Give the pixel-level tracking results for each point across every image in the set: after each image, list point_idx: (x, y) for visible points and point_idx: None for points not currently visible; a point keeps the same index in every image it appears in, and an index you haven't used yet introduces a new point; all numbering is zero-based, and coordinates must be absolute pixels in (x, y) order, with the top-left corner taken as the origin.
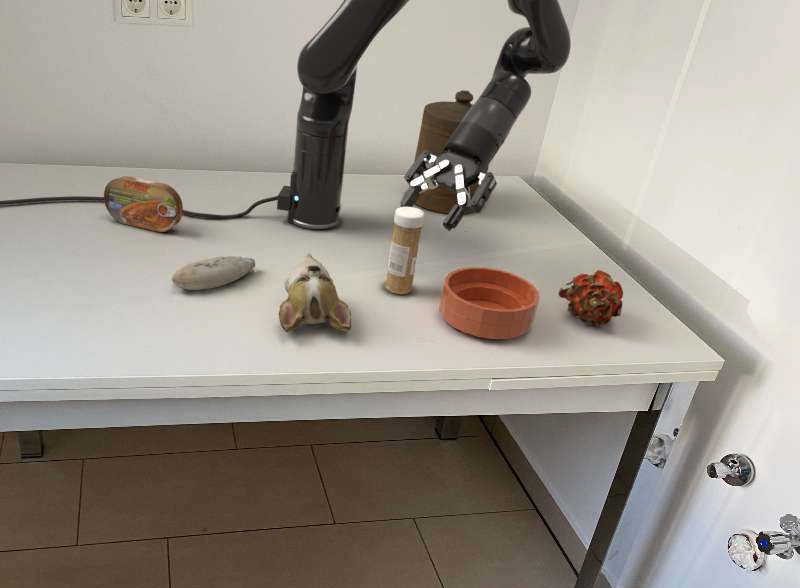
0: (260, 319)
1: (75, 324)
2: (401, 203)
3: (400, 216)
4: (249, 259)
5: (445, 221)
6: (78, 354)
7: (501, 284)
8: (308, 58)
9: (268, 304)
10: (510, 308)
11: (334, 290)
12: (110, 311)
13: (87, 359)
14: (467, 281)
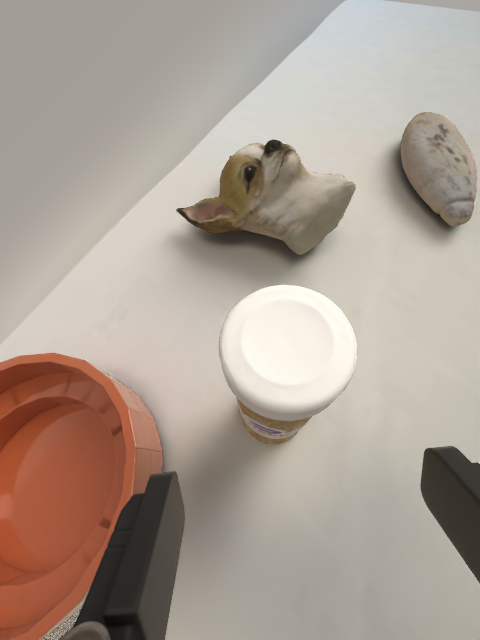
0: None
1: (375, 66)
2: (459, 451)
3: (277, 285)
4: (462, 207)
5: (160, 477)
6: (320, 59)
7: (35, 620)
8: None
9: None
10: (13, 569)
11: (231, 186)
12: (389, 87)
13: (309, 61)
14: None
